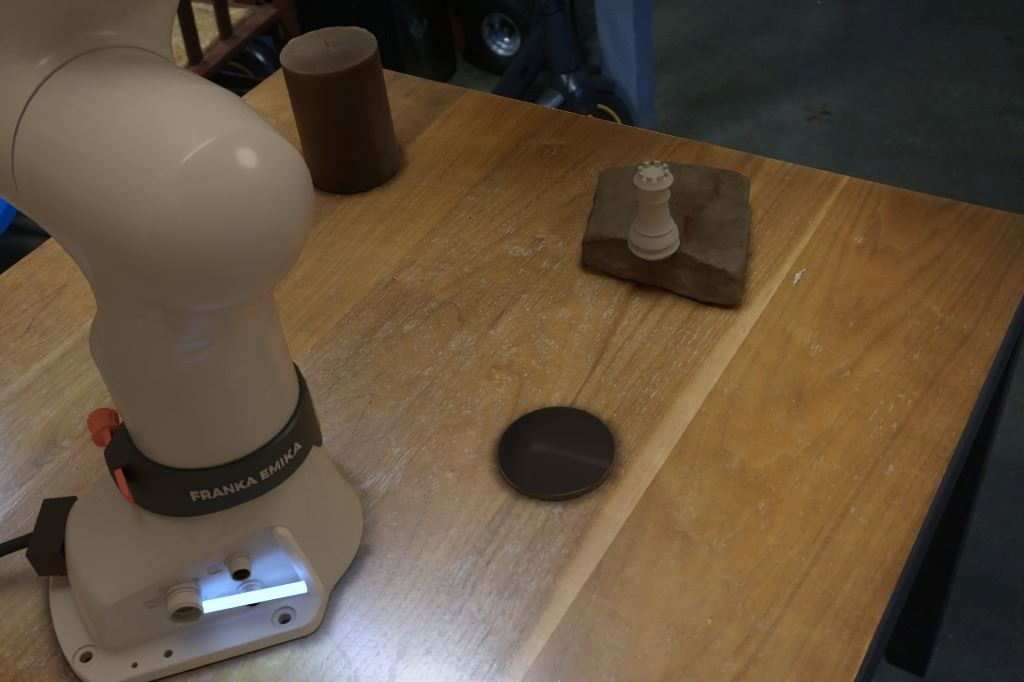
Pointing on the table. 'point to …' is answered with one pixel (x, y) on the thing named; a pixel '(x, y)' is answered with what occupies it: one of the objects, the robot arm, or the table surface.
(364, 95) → the pillar candle
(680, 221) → the flat brown rock
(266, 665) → the table surface
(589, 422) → the slate coaster
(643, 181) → the rook chess piece
